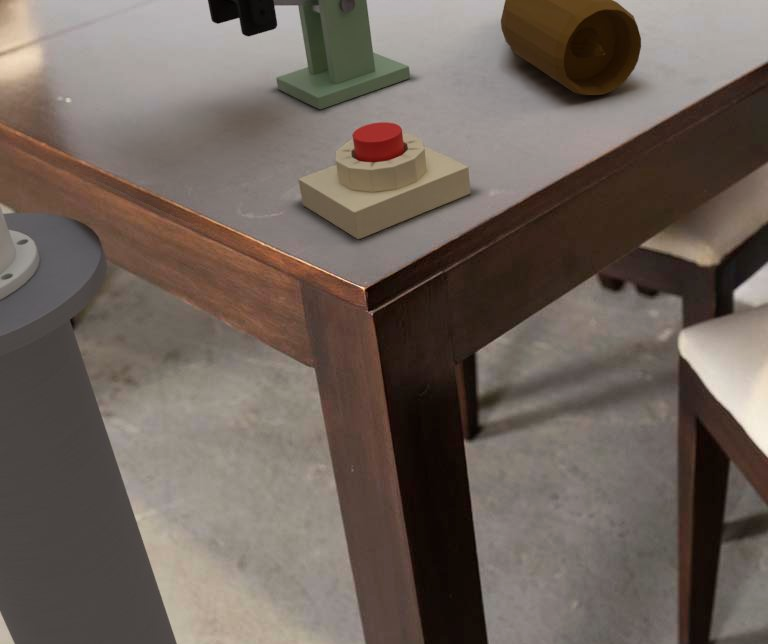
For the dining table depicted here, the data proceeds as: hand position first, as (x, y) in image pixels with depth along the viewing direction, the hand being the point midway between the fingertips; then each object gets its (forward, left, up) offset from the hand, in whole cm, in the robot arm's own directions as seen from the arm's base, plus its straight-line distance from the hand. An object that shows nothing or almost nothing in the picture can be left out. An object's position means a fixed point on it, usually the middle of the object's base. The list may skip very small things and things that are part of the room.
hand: (244, 23), depth 97 cm
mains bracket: (+9, 0, -8) cm, 12 cm away
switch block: (-2, -24, -8) cm, 25 cm away
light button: (-2, -24, -5) cm, 24 cm away
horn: (+26, -10, -8) cm, 29 cm away
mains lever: (+5, 0, 0) cm, 5 cm away
